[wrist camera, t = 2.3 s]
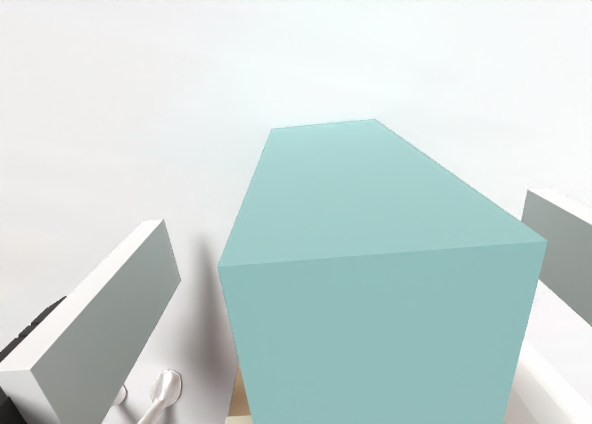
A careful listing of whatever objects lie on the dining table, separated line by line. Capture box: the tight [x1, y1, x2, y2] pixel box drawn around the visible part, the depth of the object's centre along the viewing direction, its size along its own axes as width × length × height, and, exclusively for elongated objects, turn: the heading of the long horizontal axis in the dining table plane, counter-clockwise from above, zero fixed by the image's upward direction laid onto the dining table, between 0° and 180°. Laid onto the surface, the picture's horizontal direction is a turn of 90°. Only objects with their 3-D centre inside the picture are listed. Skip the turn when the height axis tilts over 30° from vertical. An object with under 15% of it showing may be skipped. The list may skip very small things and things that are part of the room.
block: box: [217, 119, 548, 424], centre depth 11 cm, size 5×7×11 cm, turn 5°
